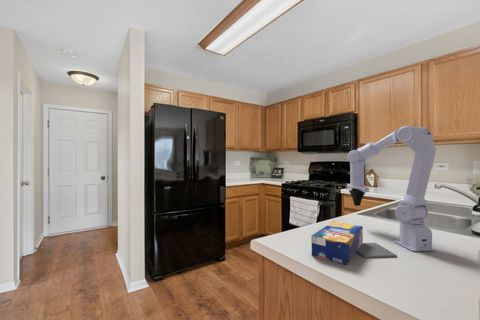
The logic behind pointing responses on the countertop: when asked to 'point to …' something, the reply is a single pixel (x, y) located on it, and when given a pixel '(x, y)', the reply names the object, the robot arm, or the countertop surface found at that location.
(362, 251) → the mat
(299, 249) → the countertop surface
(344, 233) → the beverage box
